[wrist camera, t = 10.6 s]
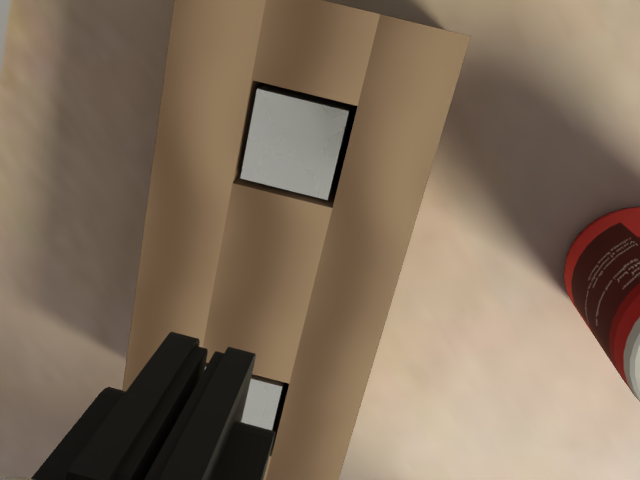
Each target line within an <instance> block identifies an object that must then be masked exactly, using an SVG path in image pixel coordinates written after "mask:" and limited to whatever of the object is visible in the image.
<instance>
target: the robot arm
mask: <svg viewBox="0 0 640 480" xmlns="http://www.w3.org/2000/svg"><path fill="white" fill-rule="evenodd" d="M199 343H200V340H199V339H198V338H194V337H190V336H187V335H183V334H179V333H175V332H170V333H169V334H168V335H167V337H166V338H165V339H164V341H163V342H162V343H161V345H160V346H159V348H158V349H157V350H156V352H155V353H154V354H153V356H152V357H151V358H150V360H149V361H148V362H147V364H146V365H145V366H144V368H143V369H142V371H141V372H140V373H139V375H138V376H137V377H136V379H135V380H134V381H133V383H132V384H131V385H130V387H129V388H128V389H127V391H122V390H118V389H114V388H110V387H108V388H105V389H104V390H103V391H102V392H101V393H100V394H99V395H98V397H97V398H96V399H95V400H94V402H93V403H92V404H91V405H90V406H89V408H88V409H87V410H86V411H85V413H84V414H83V415H82V416H81V418H80V419H79V420H78V421H77V423H76V424H75V425H74V426H73V427H72V429H71V430H70V431H69V432H68V434H67V435H66V436H65V437H64V439H63V440H62V441H61V442H60V444H59V445H58V446H57V447H56V449H55V450H54V451H53V452H52V453H51V455H50V456H49V457H48V458H47V460H46V461H45V462H44V463H43V465H42V466H41V467H40V468H39V470H38V471H37V472H36V473H35V475H34V476H33V477H32V478H31V479H29V478H23V477H7V478H1V479H0V480H263V479H264V476H265V472H266V468H267V464H268V460H269V456H270V452H271V448H272V444H273V440H274V435H275V431H272V430H268V429H265V428H261V427H257V426H253V425H250V424H246V423H242V422H241V421H242V417H243V412H244V408H245V403H246V399H247V394H248V390H249V385H250V381H251V376H252V372H253V367H254V363H255V357H256V354H255V353H251V352H248V351H244V350H240V349H236V348H232V347H228V348H227V349H226V351H225V353H221V352H218V351H215V352H214V354H213V356H212V358H211V359H210V361H209V363H208V365H207V367H206V368H205V365H206V359H207V354H208V349H206V348H202V347H199Z"/></svg>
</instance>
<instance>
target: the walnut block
mask: <svg viewBox="0 0 640 480" xmlns="http://www.w3.org/2000/svg"><path fill="white" fill-rule="evenodd" d="M470 37H471V36H468V35H464V34H460V33H456V32H451V31H447V30H443V29H439V28H435V27H431V26H427V25H423V24H418V23H414V22H410V21H406V20H402V19H398V18H394V17H390V16H385V15H381V14H377V13H373V12H369V11H365V10H361V9H357V8H353V7H348V6H344V5H340V4H336V3H332V2H328V1H324V0H174V6H173V14H172V21H171V29H170V36H169V44H168V51H167V59H166V66H165V74H164V81H163V89H162V96H161V104H160V111H159V119H158V127H157V134H156V142H155V149H154V157H153V164H152V172H151V179H150V187H149V194H148V202H147V209H146V217H145V224H144V232H143V239H142V247H141V254H140V262H139V270H138V277H137V285H136V292H135V300H134V307H133V315H132V322H131V330H130V337H129V345H128V352H127V360H126V367H125V375H124V382H123V390H122V391H127V389H128V388H129V387H130V385H131V384H132V383H133V381H134V380H135V379H136V377H137V376H138V375H139V373H140V372H141V371H142V369H143V368H144V366H145V365H146V364H147V362H148V361H149V360H150V358H151V357H152V356H153V354H154V353H155V352H156V350H157V349H158V348H159V346H160V345H161V343H162V342H163V341H164V339H165V338H166V337H167V335H168V334H169V333H170V332H175V333H179V334H183V335H187V336H190V337H194V338H198V339H199V340H200V343H199V347H202V348H206V349H208V354H207V359H206V365H207V363H209V361H210V359H211V358H212V356H213V354H214V352H215V351H218V352H221V353H225V351H226V349H227V348H228V347H232V348H236V349H240V350H244V351H248V352H251V353H255V354H256V357H255V363H254V367H253V372H252V374H254V375H257V376H261V377H265V378H269V379H273V380H277V381H281V382H285V383H286V384H285V388H284V391H283V395H282V399H281V402H280V406H279V409H278V413H277V416H276V420H275V424H274V427H273V431H275V435H274V440H273V444H272V448H271V452H270V456H269V460H268V464H267V468H266V472H265V476H264V479H263V480H338V479H339V475H340V472H341V469H342V465H343V462H344V459H345V455H346V452H347V449H348V445H349V442H350V439H351V435H352V432H353V429H354V425H355V422H356V419H357V415H358V412H359V408H360V405H361V402H362V398H363V395H364V392H365V388H366V385H367V382H368V378H369V375H370V372H371V368H372V365H373V362H374V358H375V355H376V352H377V348H378V345H379V342H380V338H381V335H382V332H383V328H384V325H385V322H386V318H387V315H388V311H389V308H390V305H391V301H392V298H393V295H394V291H395V288H396V285H397V281H398V278H399V275H400V271H401V268H402V265H403V261H404V258H405V255H406V251H407V248H408V245H409V241H410V238H411V235H412V231H413V228H414V224H415V221H416V218H417V214H418V211H419V208H420V204H421V201H422V198H423V194H424V191H425V188H426V184H427V181H428V178H429V174H430V171H431V168H432V164H433V161H434V158H435V154H436V151H437V148H438V144H439V141H440V138H441V134H442V131H443V127H444V124H445V121H446V117H447V114H448V111H449V107H450V104H451V101H452V97H453V94H454V91H455V87H456V84H457V81H458V77H459V74H460V71H461V67H462V64H463V61H464V57H465V54H466V51H467V47H468V44H469V41H470ZM266 84H270V85H274V86H278V87H282V88H286V89H290V90H294V91H298V92H303V93H307V94H311V95H315V96H319V97H323V98H327V99H331V100H335V101H339V102H343V103H347V104H351V105H355V106H357V111H356V115H355V119H354V123H353V127H352V131H351V135H350V139H349V143H348V147H347V151H346V155H345V159H344V163H343V164H339V167H338V170H337V173H336V176H335V179H334V182H333V185H332V188H331V191H330V194H329V197H328V200H325V199H321V198H317V197H313V196H309V195H305V194H301V193H297V192H293V191H289V190H285V189H281V188H277V187H273V186H269V185H265V184H261V183H257V182H253V181H249V180H245V179H241V178H240V177H241V172H242V167H243V161H244V156H245V150H246V145H247V140H248V134H249V129H250V124H251V118H252V113H253V108H254V102H255V97H256V91H257V88H259V87H262V86H264V85H266ZM206 365H205V366H206Z"/></svg>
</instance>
